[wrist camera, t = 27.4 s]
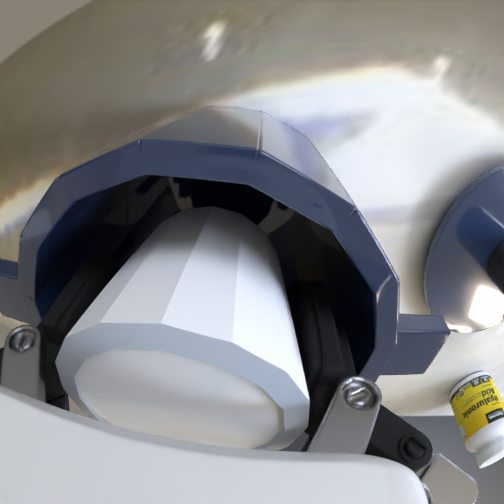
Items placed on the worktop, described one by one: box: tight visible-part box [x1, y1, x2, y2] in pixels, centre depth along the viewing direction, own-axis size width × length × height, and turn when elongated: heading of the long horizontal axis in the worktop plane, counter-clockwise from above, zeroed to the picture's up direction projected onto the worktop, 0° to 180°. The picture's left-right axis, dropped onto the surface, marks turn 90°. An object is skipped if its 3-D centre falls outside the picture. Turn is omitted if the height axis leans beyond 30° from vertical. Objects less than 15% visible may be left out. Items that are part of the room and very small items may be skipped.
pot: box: [0, 106, 451, 383], centre depth 13 cm, size 13×18×10 cm
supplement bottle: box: [449, 371, 504, 468], centre depth 22 cm, size 5×5×10 cm
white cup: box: [55, 206, 310, 451], centre depth 10 cm, size 7×7×7 cm
